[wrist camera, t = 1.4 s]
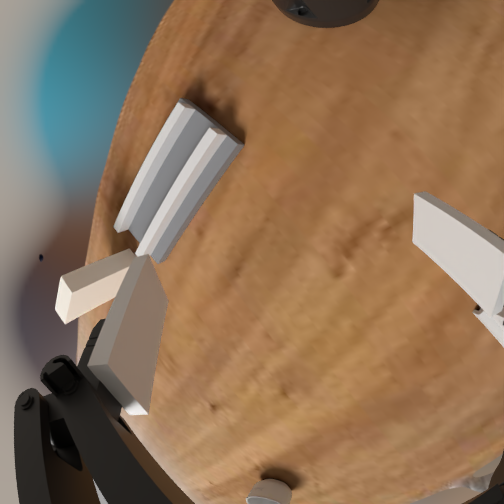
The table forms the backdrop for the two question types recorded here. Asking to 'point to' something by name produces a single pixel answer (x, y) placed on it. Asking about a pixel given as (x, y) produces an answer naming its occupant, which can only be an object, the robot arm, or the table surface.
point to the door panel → (91, 285)
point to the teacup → (269, 493)
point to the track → (176, 179)
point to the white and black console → (492, 323)
